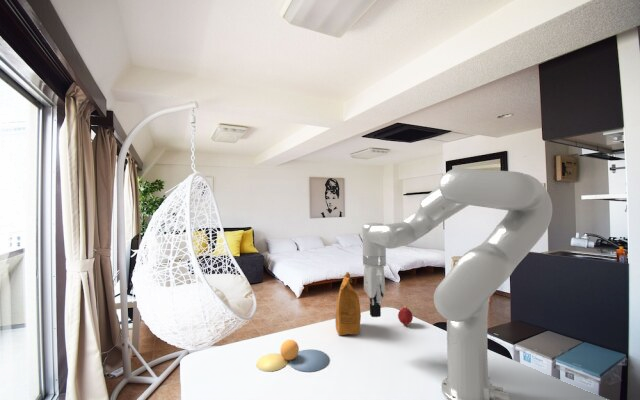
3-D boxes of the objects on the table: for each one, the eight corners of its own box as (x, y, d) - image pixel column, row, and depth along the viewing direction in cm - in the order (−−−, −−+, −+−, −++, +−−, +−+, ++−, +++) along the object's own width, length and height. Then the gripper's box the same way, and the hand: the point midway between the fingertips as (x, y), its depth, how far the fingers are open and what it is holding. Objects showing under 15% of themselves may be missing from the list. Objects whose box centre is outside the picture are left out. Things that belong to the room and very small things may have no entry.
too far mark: (293, 359, 95) (293, 358, 95) (274, 375, 86) (274, 374, 86) (270, 351, 100) (270, 350, 100) (249, 365, 91) (249, 365, 91)
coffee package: (359, 323, 122) (358, 271, 122) (361, 337, 109) (360, 279, 110) (336, 323, 123) (335, 271, 123) (335, 336, 110) (334, 278, 110)
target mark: (336, 356, 96) (336, 355, 96) (316, 376, 85) (316, 376, 85) (303, 346, 103) (303, 346, 103) (281, 364, 92) (281, 363, 92)
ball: (274, 352, 96) (288, 363, 96) (279, 352, 91) (293, 364, 91) (285, 335, 99) (298, 346, 99) (290, 335, 94) (304, 347, 94)
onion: (415, 326, 118) (415, 307, 118) (404, 329, 115) (403, 309, 115) (406, 321, 123) (406, 302, 123) (395, 323, 121) (395, 304, 121)
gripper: (358, 256, 103) (359, 308, 103) (368, 265, 88) (369, 326, 88) (379, 255, 104) (380, 307, 104) (392, 264, 89) (393, 324, 89)
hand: (375, 315), depth 96 cm, fingers closed
